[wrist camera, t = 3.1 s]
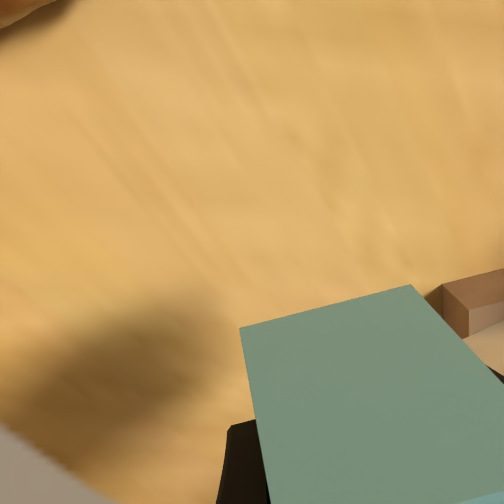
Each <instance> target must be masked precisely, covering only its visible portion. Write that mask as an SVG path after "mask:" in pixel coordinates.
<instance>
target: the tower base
mask: <svg viewBox="0 0 504 504" xmlns="http://www.w3.org/2000/svg"><path fill="white" fill-rule="evenodd" d="M442 307H443V320H444V321H445V322H446V323H447V324H448V325H449V326H450V327H451V328H452V329H453V330H454V332H455V333H456V334H457V335H458V336H459V337H460V338H461V339H464V338H466V337H469V336H471V335H473V334H475V333H477V332H479V331H482V330H484V329H486V328H488V327H490V326H492V325H495V324H497V323H499V322H501V321H503V320H504V269H500V270H496V271H492V272H488V273H484V274H480V275H476V276H472V277H468V278H464V279H460V280H457V281H453V282H449V283H445V284H442Z"/></svg>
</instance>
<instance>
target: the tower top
mask: <svg viewBox="0 0 504 504" xmlns="http://www.w3.org/2000/svg"><path fill="white" fill-rule="evenodd" d="M462 340H463V341H464V342H465V343H466V344H467V346H468V347H469V348H470V349H471V350H472V351H473V352H474V353H475V354H476V355H477V356H478V357H479V359H480V360H481V361H482V362H483V363H484V364H485V365H487V366H489V367H490V368H492V369H493V370H495V371H497V372H498V373H500V374H501V375H503V376H504V320H503V321H501V322H499V323H497V324H495V325H492V326H490V327H488V328H486V329H484V330H482V331H479V332H477V333H475V334H473V335H471V336H469V337H466V338H464V339H462Z"/></svg>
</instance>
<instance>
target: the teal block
mask: <svg viewBox="0 0 504 504" xmlns="http://www.w3.org/2000/svg"><path fill="white" fill-rule="evenodd" d="M239 330H240V336H241V341H242V347H243V352H244V358H245V363H246V369H247V374H248V380H249V385H250V391H251V396H252V402H253V407H254V413H255V418H256V424H257V429H258V435H259V440H260V446H261V451H262V456H263V462H264V467H265V473H266V478H267V484H268V489H269V495H270V500H271V504H504V384H503V383H502V382H501V381H500V380H499V379H498V378H497V377H496V376H495V375H494V374H493V373H492V371H491V370H490V369H489V368H488V367H487V366H486V365H485V364H484V363H483V362H482V361H481V360H480V359H479V357H478V356H477V355H476V354H475V353H474V352H473V351H472V350H471V349H470V348H469V347H468V346H467V344H466V343H465V342H464V341H463V340H462V339H461V338H460V337H459V336H458V335H457V334H456V333H455V332H454V330H453V329H452V328H451V327H450V326H449V325H448V324H447V323H446V322H445V321H444V320H443V319H442V318H441V316H440V315H439V314H438V313H437V312H436V311H435V310H434V309H433V308H432V307H431V306H430V305H429V304H428V302H427V301H426V300H425V299H424V298H423V297H422V296H421V295H420V294H419V293H418V292H417V291H416V290H415V288H414V287H413V286H412V285H411V284H410V285H406V286H402V287H398V288H394V289H390V290H386V291H382V292H379V293H375V294H371V295H367V296H363V297H359V298H355V299H351V300H347V301H344V302H340V303H336V304H332V305H328V306H324V307H320V308H316V309H312V310H308V311H305V312H301V313H297V314H293V315H289V316H285V317H281V318H277V319H273V320H270V321H266V322H262V323H258V324H254V325H250V326H246V327H242V328H239Z"/></svg>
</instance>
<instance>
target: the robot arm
mask: <svg viewBox="0 0 504 504" xmlns="http://www.w3.org/2000/svg"><path fill="white" fill-rule="evenodd" d="M486 366H487V365H486ZM487 367H488V368H489V369H490V370H491V371H492V373H493V374H494V375H495V376H496V377H497V378H498V379H499V380H500V381H501V382H502V383H503V384H504V376H503V375H501V374H500V373H498V372H497V371H495V370H493V369H492V368H490V367H489V366H487ZM216 504H271V500H270V495H269V489H268V484H267V478H266V473H265V467H264V462H263V456H262V451H261V446H260V440H259V435H258V429H257V424H256V419H255V420H251V421H247V422H243V423H239V424H235V425H231V427H230V428H229V429H228V431H227V442H226V450H225V458H224V464H223V470H222V476H221V481H220V486H219V491H218V496H217V500H216Z"/></svg>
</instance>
